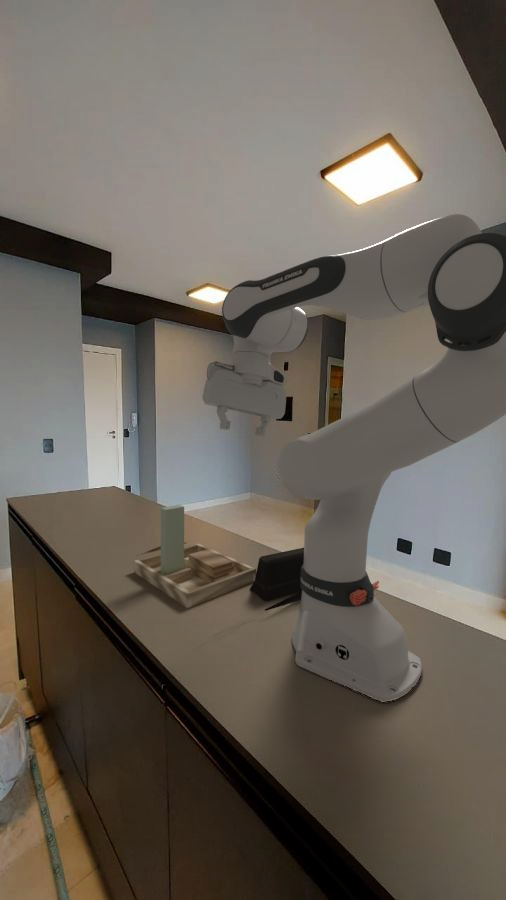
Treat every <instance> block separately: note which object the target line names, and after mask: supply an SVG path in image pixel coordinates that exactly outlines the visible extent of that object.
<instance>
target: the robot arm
mask: <svg viewBox="0 0 506 900" xmlns="http://www.w3.org/2000/svg"><path fill="white" fill-rule="evenodd" d="M305 306H313V307H314V306H315V307H322V308H326V309H330V310H332V311H333V310H334V311H336V312H340V313H343V314H345V315H348V316H352V317H354V318H356V319H357V318H358V319H360V320H364V321H374V320H375V321H377V320H383V319H390V318H394V317H397V316H401V315H403V314H406V313H409V312H412V311H414V310H418V309H420V308H423V307H427V306H429V308H430V311H431V314H432V317H433V319H434V322H435V328H436V329H435V330H436V334H437V339H438V342H439V343H440V345H442V346H444V347H446V348H447V350H446V352H444V355H442V357H441V358H440V359H438V360H437V361H436V362H434V363H433V364H432V365H430V366H428V367H427V368H426V369H423V370H422V371H420V372H419V373H418V374H416V375H414V376H413V377H412V378H410V379H409V380H407V381H406V382H404V383H403V384H401V385H400V386H398V387H397V388H395V389H393V390H392V391H391V392H389V393H386V395H384V396H383V397H382V398H379V399H378V400H377V401H375V402H373V403H371V404H370V405H368V406H366V407H364V408H362V409H360V410H358V411H356V412H353V413H350V414H348V415H347V416H343V417H342V418H340V419H337V420H336V421H333V422H331V423H329V424H327V425H325V426H323V427H321V428H319V429H316V430H315V431H313V432H311V433H309V434H305V435H303V436H299V437H297V438H295V439H291V440H289V441H288V442H287V443H285V444H284V445H283V447H282V448H281V449H280V452H279V454H278V456H277V462H276V472H277V477H278V480H279V482H280V484H281V486H282V488H283V489H284V490H285V491H286V493H288V494H289V495H290V496H292V497H295V498H298V499H304V500H318V501H319V504H318V506H317V508H316V510H315V511H314V513H313V514H312V516H310V517H309V519H308V520H307V522H306V524H305V527H304V539H303V540H304V543H303V548H304V564H303V565H302V567H301V578H300V586H301V589H302V595H301V600H300V605H299V609H298V616H297V620H296V624H295V628H294V631H293V633H292V636H291V643H292V646H293V648H294V651H295V658H294V661H295V664H296V665H297V666H298V667H300V668H303V669H304V670H307V671H309V672H311V673H314V674H316V675H318V676H320V677H323V678H325V679H326V680H330V681H331V680H332V682H334V683H336V682H337V683H336V684H338V683H340V684H342V685H344V686H343V687H345V686H347V687H349V688H352V689H355V690H357V691H359V692H361V693H364V694H366V695H369V696H372V697H373V698H376V699H378V700H382V701H386V700H390V699H394V698H397V697H400V696H401V695H403V694H405V693H406V692H408V691H409V690H411V688H412V687H414V686H415V685H416V686H417V684H418V683H419V682H418V680H419V678H420V676H421V677H422V674H421V673H423V668H422V667H423V666H422V665H423V664H422V660H421V658H420V657H419V656H417V655H416V654H414V653H413V652H411V651H409V646H408V639H407V635H406V631H405V630H404V628H403V626H402V625H401V624H400V623H399V622H398V621H397V620H396V619H395V618H394V617H393V616H392V615H391V613H390V612H389V611H388V610H387V608H385V607H384V605H383V604H381V602H380V601H379V600H378V599H377V598H376V597H375V593H374V592H375V591H376V590H377V589H378V588H379V587H380V586H379V583H380V581H379V580H377V581H375V582H373V583H372V582H371V581H370V578H369V574H368V572H367V571H366V570H367V569H366V568H367V553H368V551H367V550H368V539H369V531H370V526H371V522H372V519H373V514H374V511H375V507H376V505H377V502H378V499H379V495H380V493H381V490H382V488H383V486H384V484H385V483H386V481H387V480H388V479H389V477H390V475H391V474H392V472H394V471H397V470H399V469H403V468H406V467H408V466H412V465H413V464H416V463H417V462H420V461H421V460H424V459H427V458H428V457H431V456H433V455H434V454H436V453H438V452H440V451H442V450H444V449H447V448H449V447H451V446H453V445H455V444H457V443H460V442H461V441H463V440H465V439H467V438H469V437H471V436H473V435H474V434H477V433H478V432H480V431H481V430H484V429H485V428H487V427H488V426H490V425H492V424H493V423H495V422H496V421H498V420H499V419H501V418H502V417H504V416H505V415H506V234H505V233H500V232H483V233H482V230H481V229H480V227H479V225H478V224H477V223H476V222H475V221H474V220H473V219H472V218H471V217H469V216H468V215H465V214H461V213H454V214H449V215H446V216H442V217H439V218H435V219H433V220H430V221H426V222H424V223H421V224H418V225H416V226H415V225H414V226H413V227H411V228H408V229H406V230H404V231H402V232H399V233H396V234H395V235H394V236H391V237H389V238H387V239H385V240H383V241H380V242H378V243H376V244H374V245H371V246H367V247H365V248H363V249H362V248H361V249H359V250H354V251H352V252H346V253H340V254H332V255H326V256H321V257H317V258H314V259H311V260H308V261H305V262H303V263H299V264H297V265H295V266H293V267H290V268H287V269H284V270H282V271H280V272H277V273H274V274H272V275H270V276H267V277H264V278H262V279H256V280H252V279H251V280H245V281H242V282H240V283H238V284H237V285H235V286H234V287H232V288H231V289H230V290H229V291H228V293H227V294H226V295H225V298H224V299H223V301H222V308H221V314H222V320H223V322H224V324H225V327H226V329H227V331H228V333H229V334H230V335H232V337H233V338H232V339H233V343H234V344H233V348H232V352H231V355H230V363H224V362H221V361H217V360H215V361H213V362H210V363H209V364H208V365H207V369H206V380H205V384H204V388H203V393H202V401H203V402H204V405H208V406H212V407H216V414H217V417H218V418H219V421H220V422H219V429H221V430H230V429H231V426H230V425H231V422H232V421H230V420H228V418H227V414H226V413H228V410H230V411H233V412H234V411H236V412H239V413H244V414H249V415H251V416H252V415H254V416H257V417H260V422H261V423H260V424H259V427H255V433H254V434H255V436H259V437H264V436H265V435H266V429H267V428H268V426H269V424H270V423H271V421H272V420H279V419H280V420H281V419H282V418H283V417H284V415H285V414H286V406H287V405H286V404H287V391H286V388H285V387H284V386H286V384H287V381H288V380H287V379H288V377H287V376H286V375H285V374H283V372H281V371H280V370H279V369H277V368H276V367H275V366H274V365H273V364H272V363H271V359H272V358H271V355H272V354H273V353H280V354H282V353H283V354H284V353H285V354H287V353H291V352H294V351H296V350H297V349H299V348H300V347H301V346H302V345H303V343H304V342H305V340H306V338H307V336H308V330H309V319H308V316H307V313H306V312H305V311H304V309H301V308H300V307H305ZM420 679H421V678H420ZM419 681H420V680H419ZM417 682H418V683H417ZM416 683H417V684H416ZM340 684H339V685H340ZM342 685H341V686H342ZM416 686H415V687H416ZM347 687H346V688H347ZM415 687H414V688H415ZM349 688H348V689H349ZM391 690H392V691H394V692H392V691H391ZM411 691H412V690H411Z"/></svg>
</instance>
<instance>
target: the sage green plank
mask: <svg viewBox="0 0 506 900" xmlns="http://www.w3.org/2000/svg"><path fill="white" fill-rule="evenodd" d="M184 543H185V506H183V505H181V504H176V505H169V506H165V507H160V546H161V550H160V554H161V574H162V575H167V574H170V573H173V572H176V571H179V570H183V569H184V547H185V544H184Z"/></svg>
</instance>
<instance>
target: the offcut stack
mask: <svg viewBox="0 0 506 900" xmlns="http://www.w3.org/2000/svg"><path fill="white" fill-rule="evenodd" d="M186 568H190V569H191V573H192V574H193V575H195V576H197V577H199V578H201V579H203V580H204V581H206V582H208V583H213V582H215V581H218V580H221V579H224V578H226V577H229V576H232V575H235V574H237V572H235V571H234V565H232V562H231V561H229V560H227V559H225V558H223V557H221V556H219V555H217V554H215V553H213V552H211V551H209V550H204V551H200V552H196V553H192V554H189V557H187V558H184V569H186Z"/></svg>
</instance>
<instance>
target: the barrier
mask: <svg viewBox="0 0 506 900" xmlns="http://www.w3.org/2000/svg"><path fill="white" fill-rule="evenodd" d="M303 564H304V547H301V548H296V549H291V550H286V551H281V552H276V553H271V554H266V555H262V556H260V557H259V559H258V563H257V567H256V577H255V581H254V582H252V583H251V584H252V585H250V587H249V590H250V591H251V592H252V593H254V594H255V596H257V597H259V598H260V599H261V600H262V601H264V602H266V603H267V602H268V603H269V602H271V601H274V600H278V599H282V598H285V599H283V600H280V601H278V602H277V603H274V604H273V605H271V606H269V607H267V608H265V609H264V611H270V610H273V609H276V608H279V607H282V606H283V607H284V606H286V605H289V604H292V603H296V602H298V601H299V602H301V595H302V589H301V586H300V578H301V567H302V565H303ZM288 596H289V597H288ZM286 597H287V598H286Z"/></svg>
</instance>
